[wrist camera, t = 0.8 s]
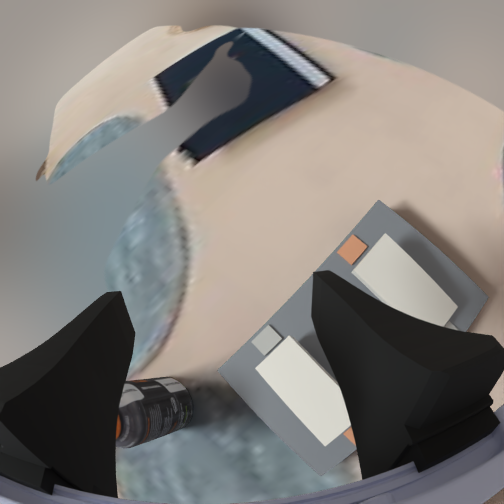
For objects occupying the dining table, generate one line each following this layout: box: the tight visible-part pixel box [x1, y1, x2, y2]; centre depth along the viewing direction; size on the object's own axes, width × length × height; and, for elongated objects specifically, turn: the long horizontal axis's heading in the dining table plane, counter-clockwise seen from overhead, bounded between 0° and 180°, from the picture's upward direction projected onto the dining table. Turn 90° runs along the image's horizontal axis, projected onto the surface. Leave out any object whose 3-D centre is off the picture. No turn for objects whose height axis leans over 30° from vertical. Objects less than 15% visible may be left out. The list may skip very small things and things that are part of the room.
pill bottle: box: [116, 377, 193, 448], centre depth 22 cm, size 6×6×11 cm
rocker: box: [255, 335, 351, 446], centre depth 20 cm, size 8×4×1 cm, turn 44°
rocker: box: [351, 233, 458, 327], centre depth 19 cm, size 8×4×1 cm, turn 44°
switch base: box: [217, 200, 489, 476], centre depth 22 cm, size 13×20×4 cm, turn 134°
